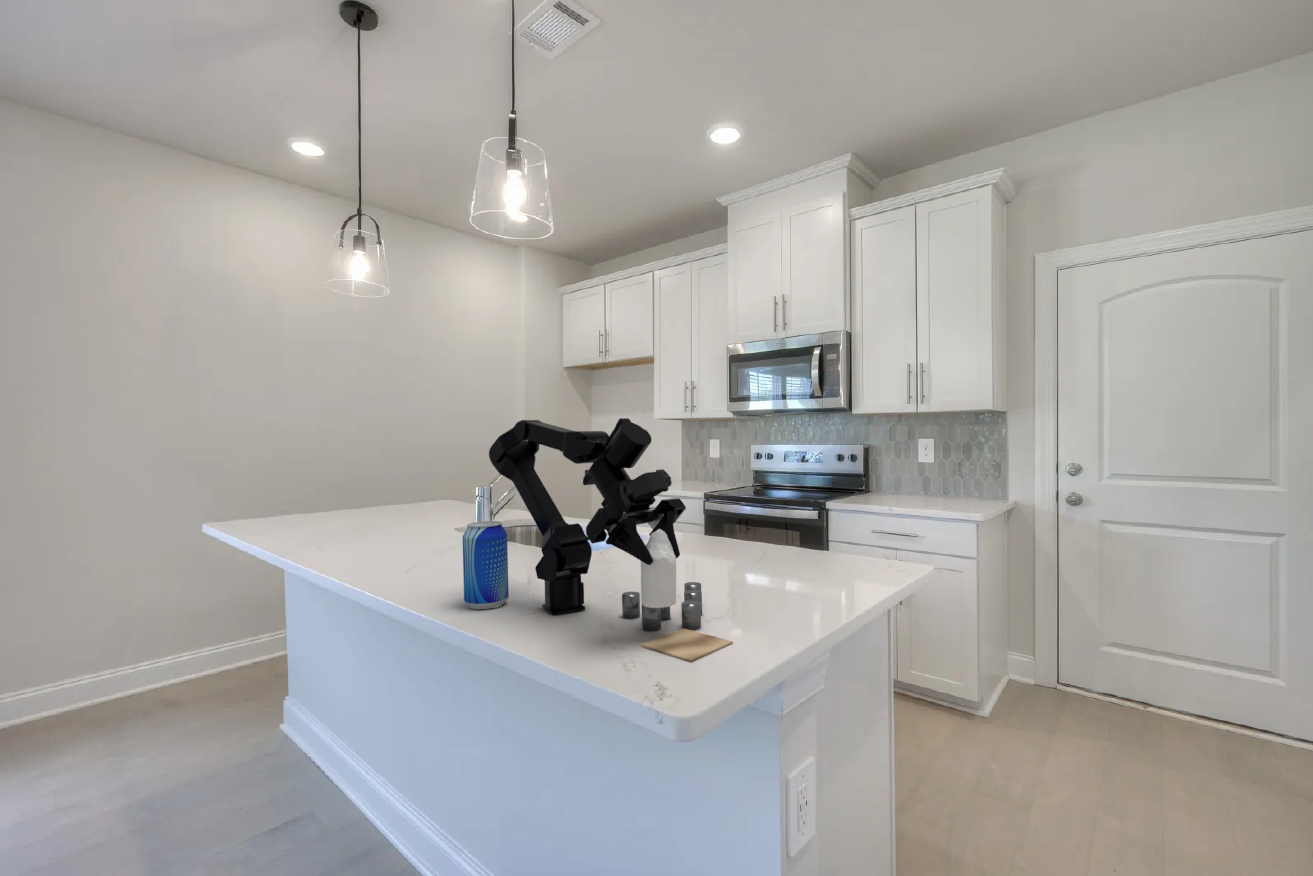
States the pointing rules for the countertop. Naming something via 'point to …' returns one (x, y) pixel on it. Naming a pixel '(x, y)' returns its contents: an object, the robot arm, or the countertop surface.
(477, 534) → the beer can
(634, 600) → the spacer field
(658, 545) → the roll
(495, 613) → the countertop surface
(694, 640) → the mat
